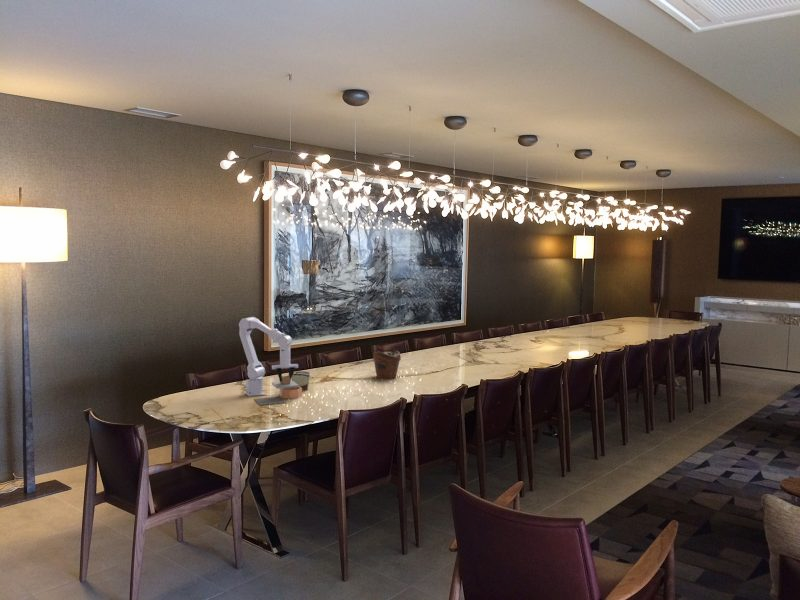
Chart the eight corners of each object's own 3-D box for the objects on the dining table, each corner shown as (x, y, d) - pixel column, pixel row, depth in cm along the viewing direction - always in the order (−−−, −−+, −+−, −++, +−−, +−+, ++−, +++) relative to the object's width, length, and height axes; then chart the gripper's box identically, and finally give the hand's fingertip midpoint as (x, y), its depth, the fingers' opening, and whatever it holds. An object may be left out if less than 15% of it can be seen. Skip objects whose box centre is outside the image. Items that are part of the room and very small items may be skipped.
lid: (277, 388, 353) (277, 379, 352) (272, 384, 364) (272, 375, 363) (298, 386, 358) (298, 377, 357) (292, 382, 368) (292, 373, 368)
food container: (313, 388, 385) (313, 371, 384) (309, 390, 379) (309, 373, 378) (294, 386, 388) (294, 370, 387) (290, 388, 382) (290, 372, 381)
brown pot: (402, 374, 430) (402, 347, 428) (399, 380, 410) (399, 352, 409) (375, 373, 432) (375, 347, 430) (371, 380, 412) (371, 352, 410)
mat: (260, 405, 343) (260, 404, 343) (254, 399, 355) (254, 398, 355) (285, 403, 349) (285, 402, 349) (279, 397, 361) (279, 396, 361)
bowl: (283, 399, 357) (283, 391, 357) (278, 394, 368) (278, 386, 368) (303, 397, 362) (303, 389, 362) (297, 392, 373) (297, 385, 372)
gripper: (273, 359, 353) (273, 383, 354) (299, 357, 359) (299, 381, 360) (270, 357, 359) (271, 381, 360) (296, 355, 365) (296, 379, 366)
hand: (285, 381), depth 361 cm, fingers closed on lid, 4 cm apart
